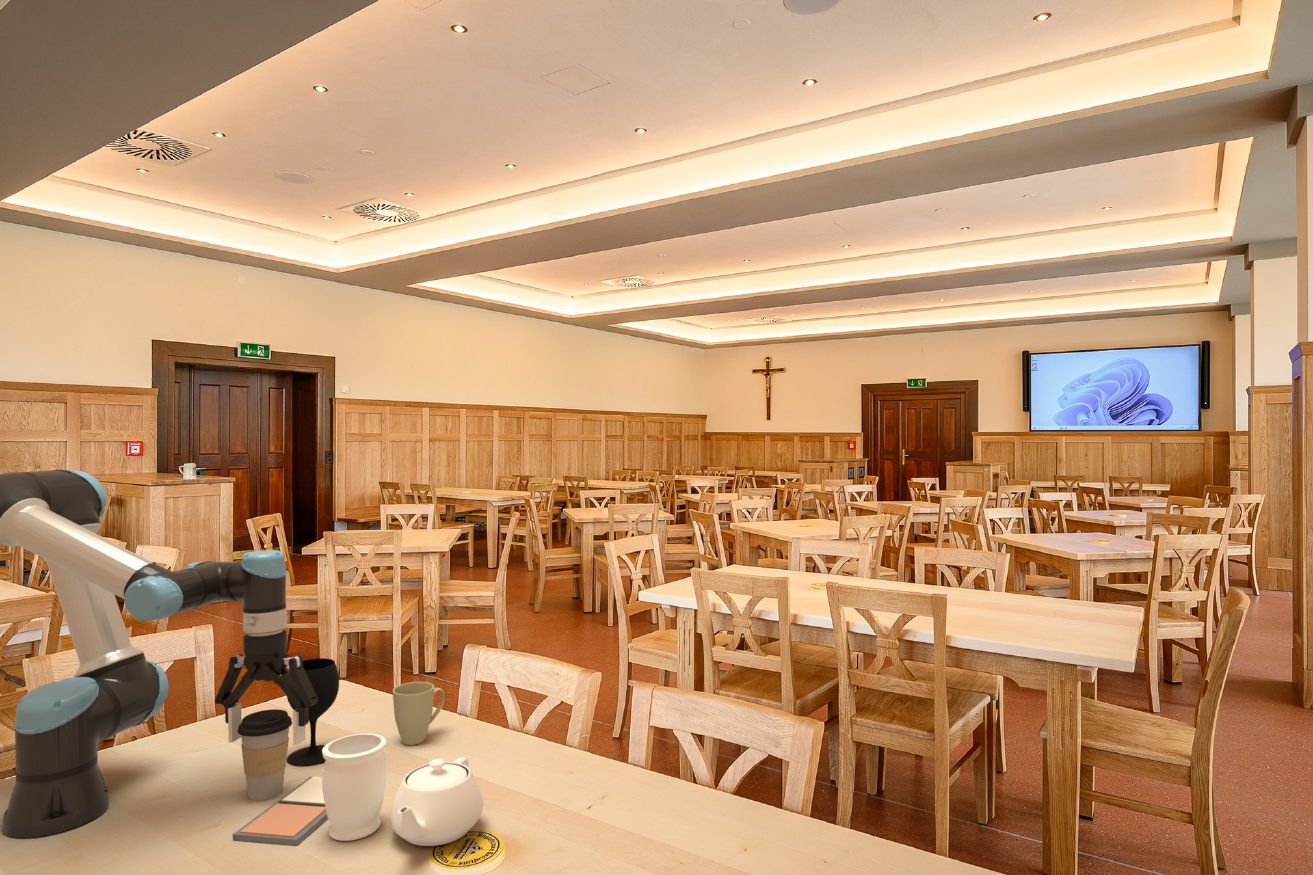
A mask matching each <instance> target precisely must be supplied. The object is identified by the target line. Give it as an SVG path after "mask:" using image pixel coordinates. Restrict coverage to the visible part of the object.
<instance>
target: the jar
mask: <svg viewBox="0 0 1313 875" xmlns="http://www.w3.org/2000/svg"><path fill="white" fill-rule="evenodd" d="M324 745H325V746H324V747H323V749H322V755H323V757H324V759H325V760H326V761H325V763H323V764H324V765H323V768H322V769H323V771H322V776H321V777H322V790H323V797H324V801H325V809H326V813H327V817H328V819H327V820H329V823H330V824H331V825H330V827H329V829H328V835H329V837H330V838H331V839H333V840H337V841H342V842H349V841H356V840H360V839H363V838H365V837H368V836H370V835H372V834H373V833H375V832H376V831H377V830H378V829H379V828H380V826H381V823H382V822H381V818H380V816H379V815H380V812H381V810H382V807H383V803H384V799H385V790H386V786H387V774H388V773H387V772H388V771H387V770H388V769H387V768H388V767H387V761H386V756H385V751H384V750H385V749H386V747H387V739H386V738H385V737H384V736H383V735H380V734H376V733H356V734H349V735H346V736H342V737H339V738H336V739H333V740H332V741H330V742H328V743H327V744H324Z"/></svg>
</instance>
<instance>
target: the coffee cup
mask: <svg viewBox="0 0 1313 875" xmlns="http://www.w3.org/2000/svg"><path fill="white" fill-rule="evenodd" d="M291 726H293V718H292V717H291V716H290V715H289V713H288V711H286V710H285V709H277V708H276V709H275V708H274V709H265V710H259V711H256V712H252V713H249V714H247V715H246V716H244V717H242V723H241V724H240V725H239V726H238V730H237V732H238V734H240V735H241V738H240V739H241V755H242V762H243V771H244V774H245V780H246V788H247V797H248V799H249V800H250V801H253V802H264V801H268V800H272V799H274V798H276V797H278V796H280V795H281V794H282V793H283V790H284V779H285V770H286V767H287V757H288V750H289V740H290V737H289V734H290V728H291Z"/></svg>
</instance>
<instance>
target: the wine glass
mask: <svg viewBox="0 0 1313 875" xmlns="http://www.w3.org/2000/svg"><path fill="white" fill-rule="evenodd" d="M302 662H303V668H304V670H305V672H306V674H307V676H308V678H309V680H310V682H311V684H312V687H313V689H314V691H315V693H316V695H317V697H318V702H317V703H316V704H314V705H312V706H311V707H309V722H308V723H309V726H310V727H309V728H310V744H309V746H306V747H302V748H299V749H297V750H295V751H293V752H291V753H290V754H288V755H287V761H286V764H289V765H290V766H293V767H303V768H304V767H315V766H318V765H322V764H325V761H326V760H325V759H324V757H323V755H322V749H323V747H324V746H325V745H326V744H317V740H316V738H317V737H316V733H317V732H316V730H317V722H318V719H319V718H320V717H321V716H323V715H324V714H325V713H326V712H328V710H329V709H330V708H331V707H332V706H333V704H334V703H335V701H336V699H337V697H338V693H339V690H340V677H339V671H338V667H337V664H336V661H335V660H334V659H330V658H311V659H304V660H302ZM288 672H289V673H290V670H288ZM290 677H291V678H292V676H291V673H290ZM292 680H293V678H292ZM293 681H294V680H293ZM286 698H287V699H286V700H287V702H288V704H289V706H290V707H291V709H292V710H293V711H294V710H295V709H297V708H296V707H295V706H294V705H293V703H292V702H291V701H290V699H289V698H288V697H287V696H286Z"/></svg>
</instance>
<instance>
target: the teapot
mask: <svg viewBox="0 0 1313 875" xmlns="http://www.w3.org/2000/svg"><path fill="white" fill-rule="evenodd" d="M399 785H400V786H399V787H398V790H397V792H396V795H395V797H394V799H393V802H392V805H391V810H390V824H391V827H392V829H393V831H394V832H395V833H396V834H397V835H398V836H399V837H400V838H402V839H404V840H405V841H406V842H408V843H410V844H413V845H415V846H420V847H421V846H422V847H423V846H424V847H432V846H433V847H435V846H441V845H445V844H449V843H452V842H454V841H457V840H458V839H461V838H462V837H463V836H465V835H466V834H467V833H468V832H469V831H470V830H471V829H472V828H473V827H474V826H475V825H476V824H477V822H478V821H479V819H480V818H481V815H482V813H483V808H484V801H483V796H482V791H481V789H480V785H479V784H478V782H477V779H476V778H475V776H474V774H473V772H472V770H471V769H470V768H469V760H468V758H467V757H465V756H460V757H458V758H457V759H455V760H454V761H446V760H445V759H444V758H434V759H432V760H431V761H429V763H426V764H423V765H420V766H418V767H415V768H414V769H412V770H410V771H409V772H408V773H406V775H405V776H404V777H403V779H402V781H401V783H400V784H399Z"/></svg>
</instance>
